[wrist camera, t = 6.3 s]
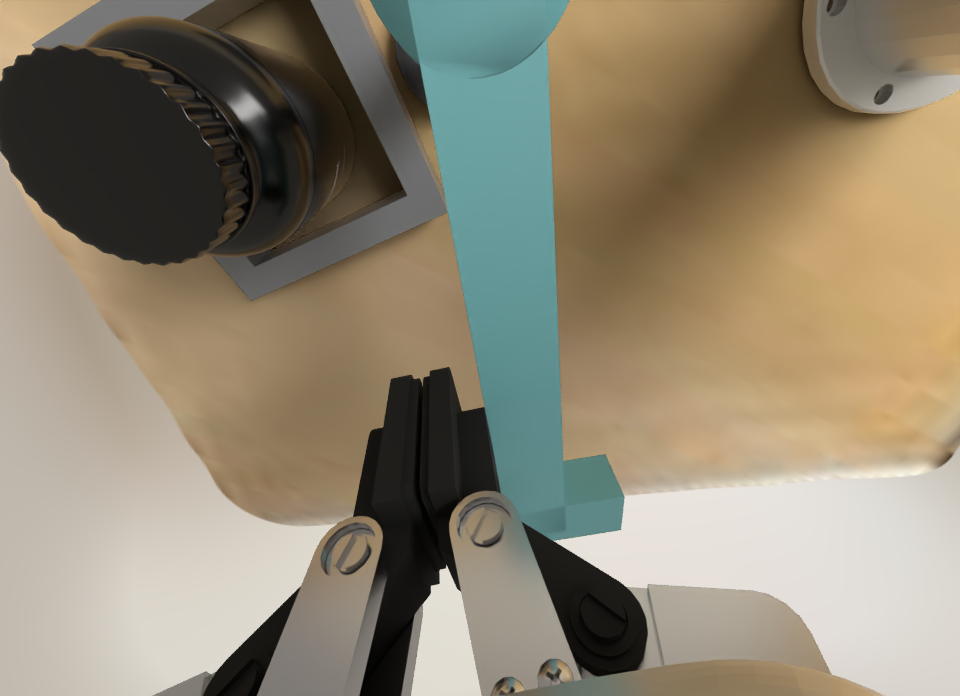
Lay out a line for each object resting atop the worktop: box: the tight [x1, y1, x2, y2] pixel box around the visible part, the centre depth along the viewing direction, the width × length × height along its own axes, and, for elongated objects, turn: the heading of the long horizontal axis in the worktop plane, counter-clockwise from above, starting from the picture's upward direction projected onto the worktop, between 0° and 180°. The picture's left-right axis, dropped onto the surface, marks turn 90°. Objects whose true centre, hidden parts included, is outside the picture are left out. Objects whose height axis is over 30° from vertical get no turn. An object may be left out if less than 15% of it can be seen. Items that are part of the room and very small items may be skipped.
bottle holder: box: [32, 0, 448, 301], centre depth 18 cm, size 12×12×2 cm
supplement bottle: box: [0, 16, 355, 266], centre depth 14 cm, size 7×7×12 cm
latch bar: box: [370, 0, 624, 541], centre depth 10 cm, size 17×6×2 cm, turn 8°
